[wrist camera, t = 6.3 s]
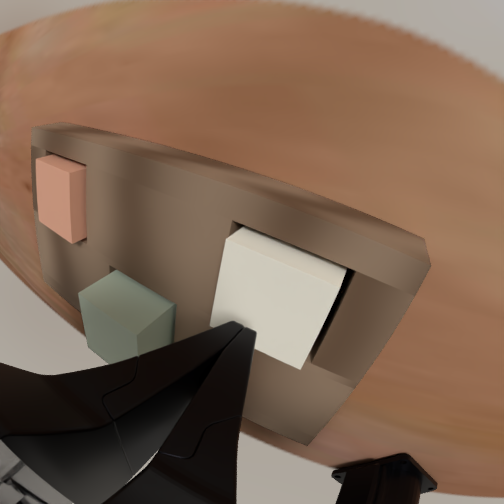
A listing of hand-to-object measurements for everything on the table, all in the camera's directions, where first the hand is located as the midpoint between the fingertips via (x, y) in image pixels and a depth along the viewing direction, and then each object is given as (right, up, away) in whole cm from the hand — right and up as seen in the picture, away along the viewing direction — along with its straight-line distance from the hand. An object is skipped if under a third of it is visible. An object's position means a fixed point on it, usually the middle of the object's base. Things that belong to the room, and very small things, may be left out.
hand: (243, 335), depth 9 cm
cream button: (+2, +2, +4) cm, 5 cm away
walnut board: (-4, +2, +7) cm, 9 cm away
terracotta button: (-9, +7, +7) cm, 14 cm away
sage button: (-5, -1, +7) cm, 9 cm away
